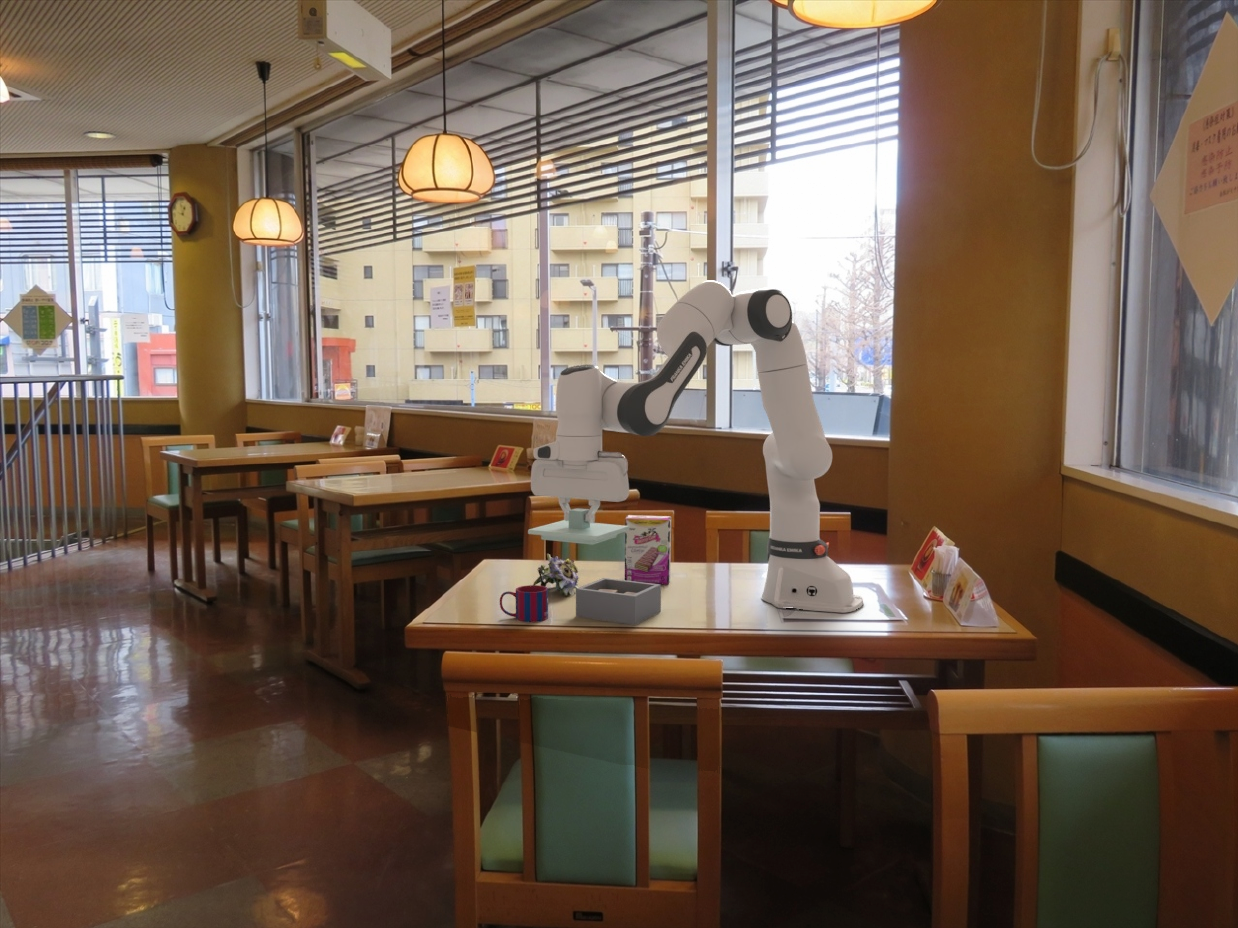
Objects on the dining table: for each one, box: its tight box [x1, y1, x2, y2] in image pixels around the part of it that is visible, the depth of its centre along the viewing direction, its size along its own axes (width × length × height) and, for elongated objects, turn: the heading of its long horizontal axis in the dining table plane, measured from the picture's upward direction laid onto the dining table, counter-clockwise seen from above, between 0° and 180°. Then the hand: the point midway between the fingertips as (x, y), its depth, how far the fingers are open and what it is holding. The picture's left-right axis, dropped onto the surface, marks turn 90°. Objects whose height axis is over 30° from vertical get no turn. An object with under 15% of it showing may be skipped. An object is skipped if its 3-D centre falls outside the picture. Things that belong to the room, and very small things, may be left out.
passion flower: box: [532, 553, 579, 598], centre depth 220 cm, size 11×11×12 cm
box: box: [575, 577, 662, 626], centre depth 201 cm, size 14×12×6 cm
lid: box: [527, 508, 629, 545], centre depth 183 cm, size 15×13×6 cm
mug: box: [499, 584, 549, 623], centre depth 198 cm, size 7×10×7 cm
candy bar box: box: [624, 514, 672, 586], centre depth 233 cm, size 11×5×16 cm, turn 84°
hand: (579, 521), depth 183 cm, fingers closed on lid, 3 cm apart
